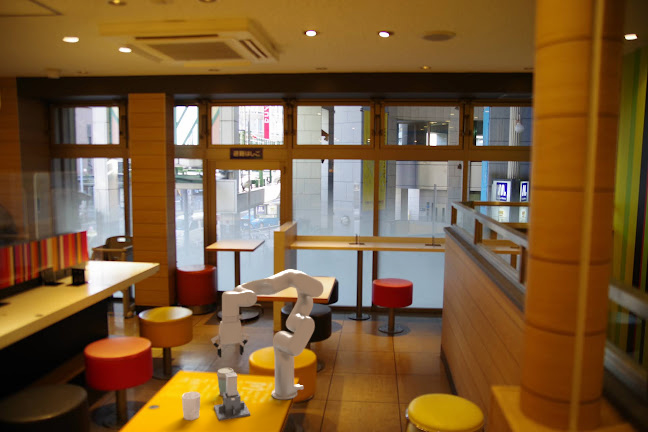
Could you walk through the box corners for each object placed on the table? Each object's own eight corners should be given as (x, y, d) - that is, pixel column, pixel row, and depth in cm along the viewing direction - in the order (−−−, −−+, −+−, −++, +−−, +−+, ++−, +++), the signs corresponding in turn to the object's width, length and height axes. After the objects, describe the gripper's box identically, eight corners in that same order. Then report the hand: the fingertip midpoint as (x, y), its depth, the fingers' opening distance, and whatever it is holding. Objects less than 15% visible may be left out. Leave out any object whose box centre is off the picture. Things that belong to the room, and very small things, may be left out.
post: (235, 406, 240) (235, 372, 239) (237, 410, 236) (237, 376, 235) (225, 407, 239) (225, 373, 237) (227, 411, 234) (227, 377, 233)
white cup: (193, 411, 238) (193, 390, 237) (204, 416, 233) (203, 394, 232) (178, 417, 232) (178, 395, 231) (189, 422, 227) (189, 400, 226)
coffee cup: (230, 398, 251) (230, 374, 251) (214, 396, 253) (213, 372, 252) (237, 391, 260) (236, 367, 259) (221, 389, 262) (220, 366, 261)
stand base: (243, 402, 247) (243, 386, 246) (250, 415, 234) (250, 398, 233) (213, 407, 242) (213, 390, 241) (219, 420, 229) (218, 403, 228)
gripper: (247, 314, 241) (247, 350, 242) (209, 318, 234) (210, 354, 236) (251, 319, 234) (251, 356, 235) (212, 322, 227) (212, 360, 229)
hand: (230, 355), depth 235 cm, fingers open, 9 cm apart
